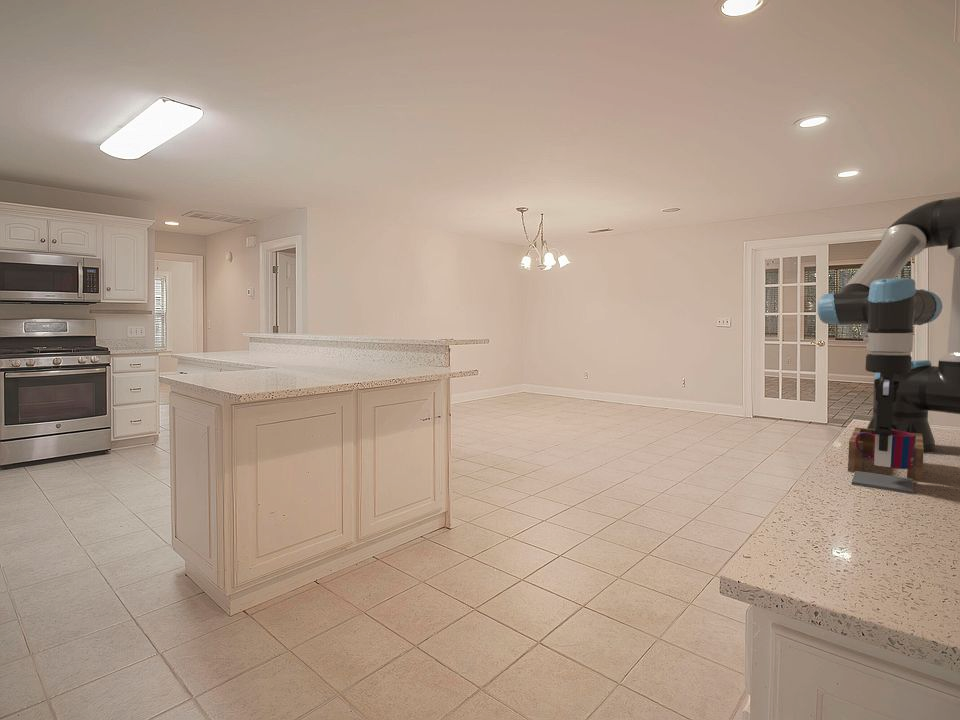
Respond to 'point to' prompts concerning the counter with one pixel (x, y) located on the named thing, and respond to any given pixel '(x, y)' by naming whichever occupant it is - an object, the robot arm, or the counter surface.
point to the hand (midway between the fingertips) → (882, 461)
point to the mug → (896, 449)
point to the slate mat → (883, 482)
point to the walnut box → (867, 446)
